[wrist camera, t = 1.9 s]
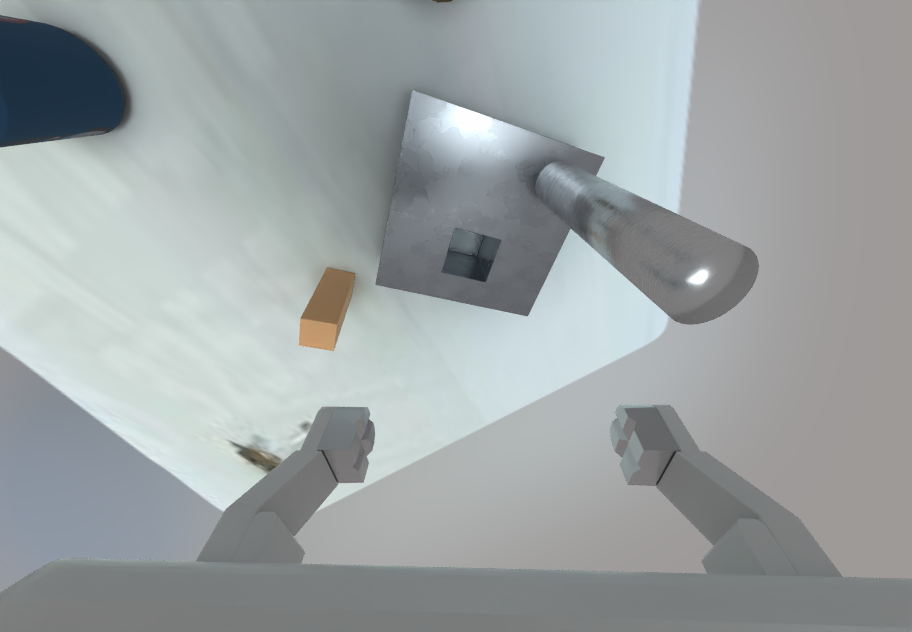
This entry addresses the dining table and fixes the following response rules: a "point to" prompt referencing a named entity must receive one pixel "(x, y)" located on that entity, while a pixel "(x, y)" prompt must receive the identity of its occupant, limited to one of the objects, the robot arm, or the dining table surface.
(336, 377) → the dining table surface
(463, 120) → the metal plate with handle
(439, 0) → the cork
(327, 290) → the orange brown rectangular block
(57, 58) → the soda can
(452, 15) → the dining table surface
